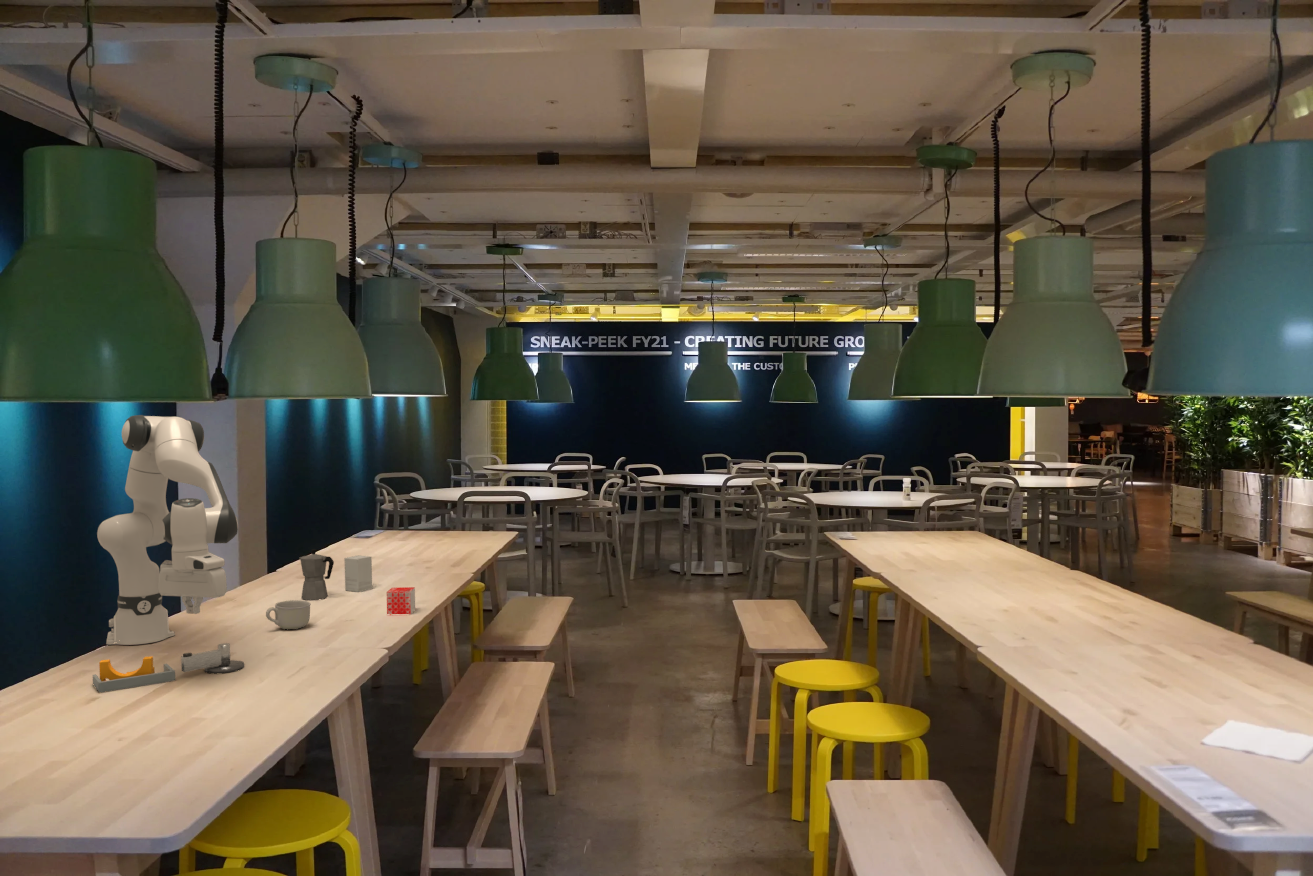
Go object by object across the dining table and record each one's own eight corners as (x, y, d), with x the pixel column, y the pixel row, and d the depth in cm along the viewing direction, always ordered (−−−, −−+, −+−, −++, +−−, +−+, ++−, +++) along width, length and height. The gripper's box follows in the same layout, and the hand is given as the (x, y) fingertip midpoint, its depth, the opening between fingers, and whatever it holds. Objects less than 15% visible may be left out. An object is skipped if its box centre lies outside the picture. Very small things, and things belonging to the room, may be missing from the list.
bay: (92, 684, 263) (92, 674, 263) (167, 672, 273) (166, 663, 273) (99, 692, 255) (98, 683, 255) (175, 680, 266) (175, 671, 266)
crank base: (200, 668, 278) (200, 663, 278) (238, 662, 284) (238, 657, 284) (209, 675, 270) (209, 671, 270) (249, 669, 276) (248, 665, 276)
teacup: (305, 622, 333) (305, 598, 333) (315, 628, 324) (314, 603, 324) (261, 628, 325) (260, 603, 325) (269, 635, 316) (269, 609, 316)
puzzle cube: (392, 610, 352) (391, 587, 351) (415, 610, 352) (414, 587, 351) (387, 615, 344) (386, 592, 343) (410, 615, 344) (410, 591, 343)
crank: (227, 662, 279) (226, 642, 279) (232, 664, 277) (231, 644, 277) (180, 671, 270) (180, 651, 270) (185, 673, 268) (184, 653, 268)
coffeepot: (291, 599, 372) (290, 550, 371) (309, 594, 381) (308, 546, 380) (325, 602, 366) (324, 552, 365) (342, 597, 375) (341, 548, 374)
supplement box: (373, 589, 390) (372, 556, 390) (357, 592, 384) (357, 559, 383) (359, 587, 394) (358, 554, 394) (344, 590, 388) (343, 557, 387)
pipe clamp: (154, 679, 268) (154, 654, 268) (151, 683, 264) (151, 658, 264) (103, 683, 265) (103, 658, 264) (100, 687, 260) (99, 662, 260)
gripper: (150, 561, 269) (153, 614, 269) (211, 563, 261) (213, 617, 262) (170, 558, 274) (172, 609, 275) (229, 559, 267) (232, 612, 267)
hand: (193, 613), depth 268 cm, fingers closed
